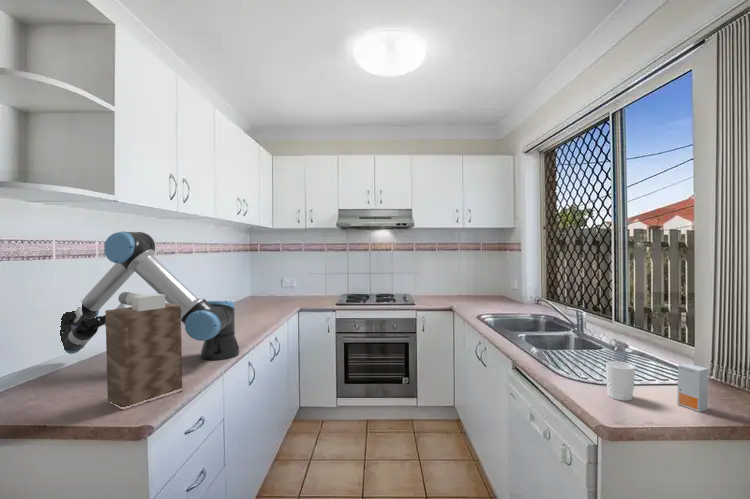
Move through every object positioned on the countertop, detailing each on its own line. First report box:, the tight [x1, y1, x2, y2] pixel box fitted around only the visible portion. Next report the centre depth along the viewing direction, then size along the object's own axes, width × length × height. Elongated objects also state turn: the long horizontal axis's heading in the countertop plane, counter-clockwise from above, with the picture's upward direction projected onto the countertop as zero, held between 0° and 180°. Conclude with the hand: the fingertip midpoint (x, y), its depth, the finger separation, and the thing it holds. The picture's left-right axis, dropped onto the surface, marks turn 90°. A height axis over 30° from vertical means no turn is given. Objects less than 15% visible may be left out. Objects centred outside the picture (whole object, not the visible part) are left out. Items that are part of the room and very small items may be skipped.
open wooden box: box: [105, 302, 183, 407], centre depth 132 cm, size 18×10×28 cm, turn 144°
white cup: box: [605, 360, 636, 402], centre depth 131 cm, size 8×8×10 cm
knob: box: [118, 291, 166, 311], centre depth 134 cm, size 18×8×4 cm, turn 54°
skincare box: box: [676, 362, 710, 413], centre depth 123 cm, size 6×4×12 cm
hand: (103, 308), depth 148 cm, fingers open, 13 cm apart
